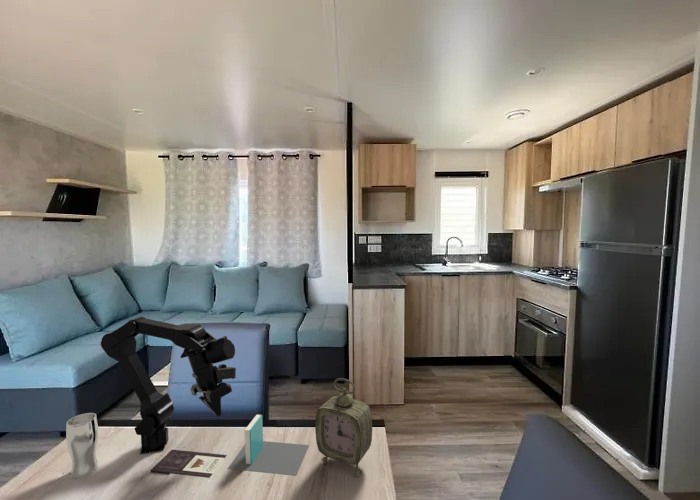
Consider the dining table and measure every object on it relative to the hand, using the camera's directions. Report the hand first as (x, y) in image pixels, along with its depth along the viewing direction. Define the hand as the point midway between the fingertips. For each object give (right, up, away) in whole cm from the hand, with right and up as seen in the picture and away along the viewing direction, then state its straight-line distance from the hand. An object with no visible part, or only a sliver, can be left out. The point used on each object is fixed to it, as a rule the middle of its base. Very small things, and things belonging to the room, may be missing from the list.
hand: (219, 415), depth 101 cm
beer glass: (-35, -12, -7) cm, 38 cm away
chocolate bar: (-7, -12, -4) cm, 15 cm away
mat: (+16, -11, -2) cm, 20 cm away
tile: (+11, -11, -1) cm, 16 cm away
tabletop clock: (+38, -11, -5) cm, 40 cm away
